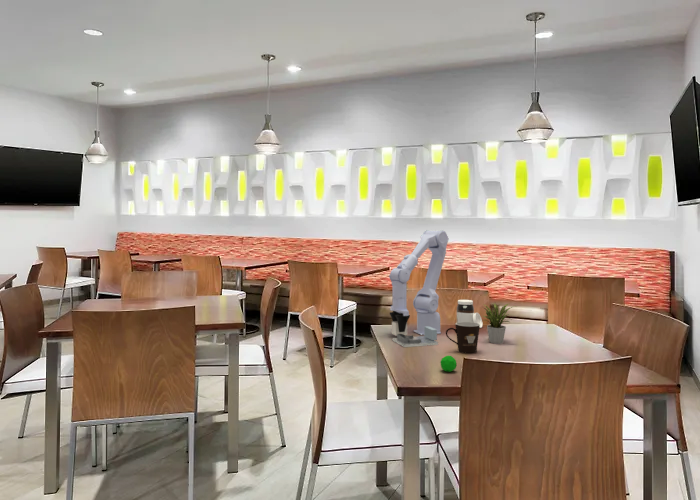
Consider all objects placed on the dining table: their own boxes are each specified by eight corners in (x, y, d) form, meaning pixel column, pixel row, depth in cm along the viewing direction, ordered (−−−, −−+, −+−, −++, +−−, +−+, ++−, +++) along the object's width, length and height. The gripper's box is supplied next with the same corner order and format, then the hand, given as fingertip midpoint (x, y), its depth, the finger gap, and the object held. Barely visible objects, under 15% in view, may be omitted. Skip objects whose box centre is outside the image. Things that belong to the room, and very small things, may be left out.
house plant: (520, 340, 206) (521, 299, 205) (516, 347, 193) (516, 304, 193) (484, 337, 212) (484, 297, 211) (477, 344, 199) (478, 301, 199)
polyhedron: (439, 372, 160) (439, 357, 160) (442, 368, 165) (442, 353, 165) (455, 374, 159) (455, 358, 158) (457, 370, 163) (457, 355, 163)
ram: (429, 336, 207) (429, 326, 207) (436, 339, 201) (436, 329, 201) (424, 336, 207) (424, 326, 207) (432, 340, 200) (432, 330, 200)
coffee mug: (480, 349, 190) (480, 322, 190) (478, 355, 182) (478, 327, 182) (448, 347, 194) (448, 320, 193) (445, 352, 186) (445, 325, 185)
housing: (403, 332, 215) (403, 320, 214) (407, 334, 210) (407, 321, 210) (391, 333, 213) (391, 320, 213) (395, 335, 209) (395, 322, 209)
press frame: (424, 338, 210) (424, 331, 210) (438, 344, 198) (438, 337, 198) (392, 340, 206) (392, 333, 206) (404, 347, 194) (404, 339, 194)
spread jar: (455, 323, 241) (456, 299, 241) (480, 324, 240) (480, 299, 239) (457, 328, 229) (457, 302, 229) (483, 329, 228) (484, 303, 227)
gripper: (384, 295, 217) (384, 327, 218) (397, 300, 203) (397, 334, 204) (399, 295, 219) (399, 326, 220) (413, 299, 205) (413, 333, 206)
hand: (399, 330), depth 212 cm, fingers closed on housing, 4 cm apart
